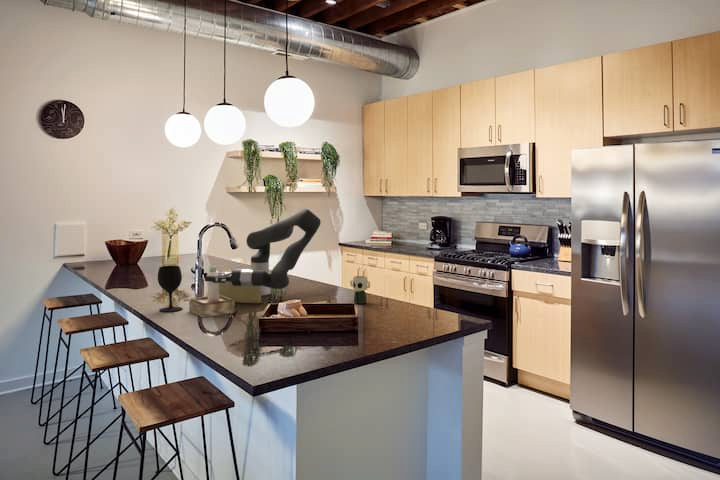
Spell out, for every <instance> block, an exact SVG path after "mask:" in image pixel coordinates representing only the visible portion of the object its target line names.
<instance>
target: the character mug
mask: <svg viewBox="0 0 720 480" xmlns="http://www.w3.org/2000/svg"><path fill="white" fill-rule="evenodd" d="M349 282H350V287H352V289H353V291H355V292H354V295H353V304H359V305H360V304H363V305H364V304H365V303H367V294H366V290H368V289H370V288H371V281H369V280H368V276H367V275H353V276H352V279H350V281H349Z"/></svg>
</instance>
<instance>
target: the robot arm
mask: <svg viewBox="0 0 720 480" xmlns="http://www.w3.org/2000/svg"><path fill="white" fill-rule="evenodd" d="M296 226H297V227H298V228H300V229H301V230H302V231H304V234H303V236H302V237H301V238H300V239H298V240H297V241H295V242H293V243H291V244H290V245H288V246H287V248H286V249H285V251H284V252H283V254H282V256H281V258H280V260H278V262H277V263H276V264H275V266H274V267H273V268H272V270H271V272H270V261H269V260H270V257H271V256H270V255H271V244H272V243H278V242H281V241H285V240H286V239H289V238H291V236H292V234H293V232H294V229H295V227H296ZM320 226H321V219H320V218H319V217H318V216H317V215H316V214H315V213H313V212H312V211H311V210H310V209H308V208H304V209H301V210H299V211H298V212H295V213H294V214H292V215H290V216H289V217H287V218H284V219H282V220H280V221H277V222H275V223H273V224H271V225H268V226H267V227H265V228H263V229H260V230H257V231H252V232H250V233H249V234H248V235H247V237H246V245H247V247H248V248H249V249H251V250H254V251H255V250H258V251H257V252H256V254H253V255H252V256H251V258H250V269H248V268H247V269H245V268H244V269H243V268H242V269H241V268H234V269H233V270H231V271H232V272H224V273H219V275H218V276H207V275H206V276H204V282H207V281H213V283H228V282H230V281H231V282H232V285H233V286H261V297H262V296H268V295H271V294H272V292H271V291H272V289H276V290H282V289H285V288H287V287H288V285H289V283H290V279H289V276H288V272H289V271H291V270H293V269H294V268H295V266H296V264H298V263H297V262H298V261H299V258H300V257H301V255H302V253H303V251H304V250H305V248H306V247H307V246H308V244H309V243H310V242H311V241H312V238H313V237H314V236H315V234H316V233H317V232H318V230H319V227H320ZM216 278H218V280H216Z"/></svg>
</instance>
